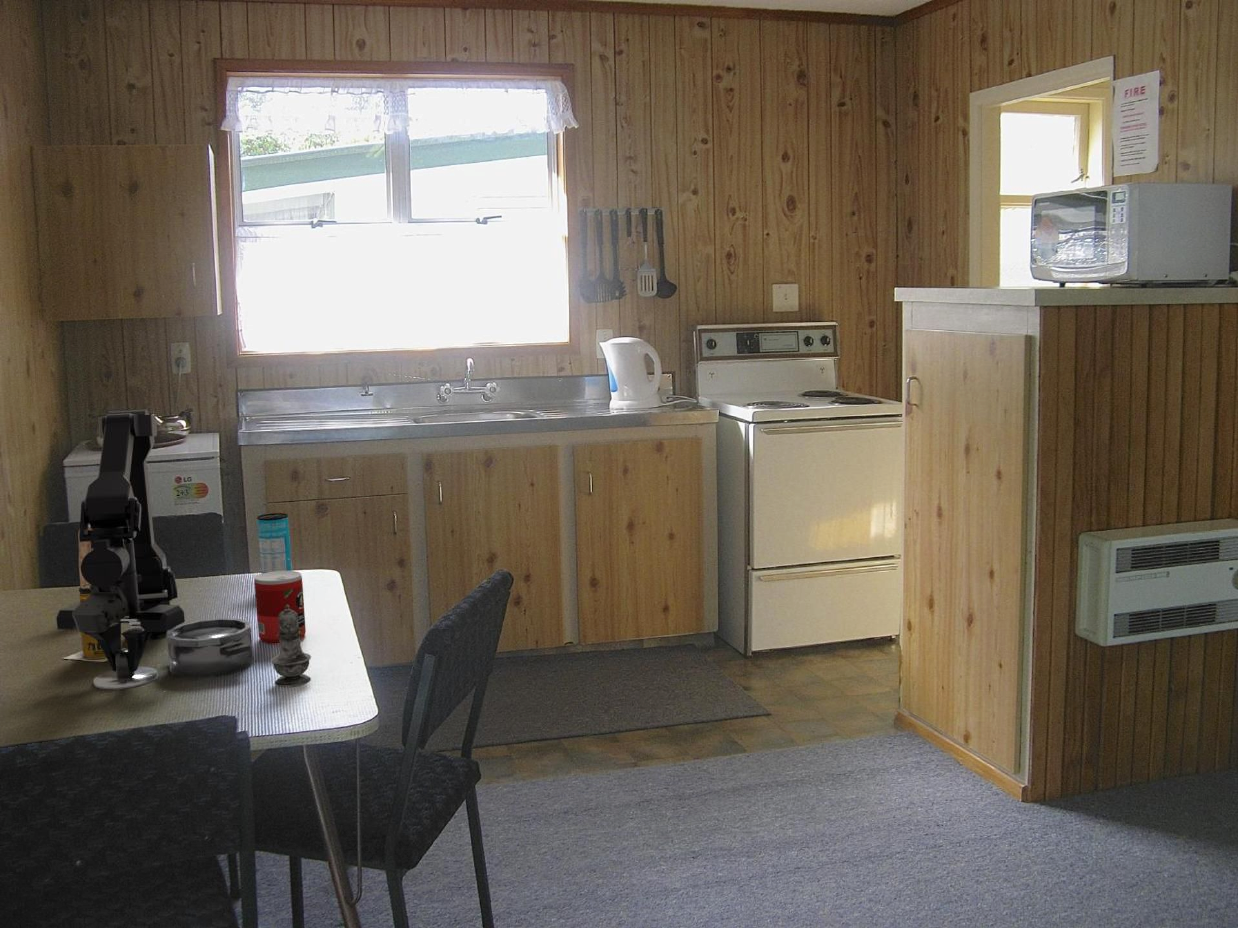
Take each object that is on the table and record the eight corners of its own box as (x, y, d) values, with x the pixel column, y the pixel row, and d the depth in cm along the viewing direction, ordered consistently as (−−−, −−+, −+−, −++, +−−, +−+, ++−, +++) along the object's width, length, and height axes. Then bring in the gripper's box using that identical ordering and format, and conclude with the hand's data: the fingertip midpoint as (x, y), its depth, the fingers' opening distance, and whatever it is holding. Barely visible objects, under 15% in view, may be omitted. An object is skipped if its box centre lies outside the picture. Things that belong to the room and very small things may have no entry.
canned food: (294, 645, 206) (289, 581, 204) (250, 644, 207) (245, 580, 206) (314, 632, 213) (309, 570, 212) (271, 631, 215) (267, 570, 213)
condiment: (105, 662, 200) (98, 590, 198) (62, 659, 202) (55, 588, 201) (135, 649, 207) (128, 580, 205) (93, 646, 209) (87, 578, 207)
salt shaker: (276, 676, 189) (271, 600, 187) (315, 674, 189) (310, 598, 188) (269, 688, 183) (263, 610, 181) (309, 686, 184) (303, 608, 182)
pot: (147, 665, 197) (144, 629, 196) (218, 646, 206) (216, 612, 205) (204, 686, 185) (201, 647, 184) (277, 665, 194) (274, 628, 194)
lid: (80, 689, 187) (77, 658, 186) (118, 670, 196) (115, 641, 195) (134, 691, 185) (131, 660, 184) (169, 672, 193) (167, 643, 193)
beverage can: (299, 587, 247) (294, 514, 245) (277, 594, 242) (271, 519, 240) (278, 584, 250) (273, 512, 248) (256, 591, 245) (250, 517, 243)
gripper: (26, 583, 182) (37, 685, 184) (139, 586, 178) (149, 689, 180) (74, 567, 193) (84, 663, 195) (182, 568, 189) (190, 666, 191)
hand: (125, 670), depth 190 cm, fingers closed on lid, 3 cm apart
